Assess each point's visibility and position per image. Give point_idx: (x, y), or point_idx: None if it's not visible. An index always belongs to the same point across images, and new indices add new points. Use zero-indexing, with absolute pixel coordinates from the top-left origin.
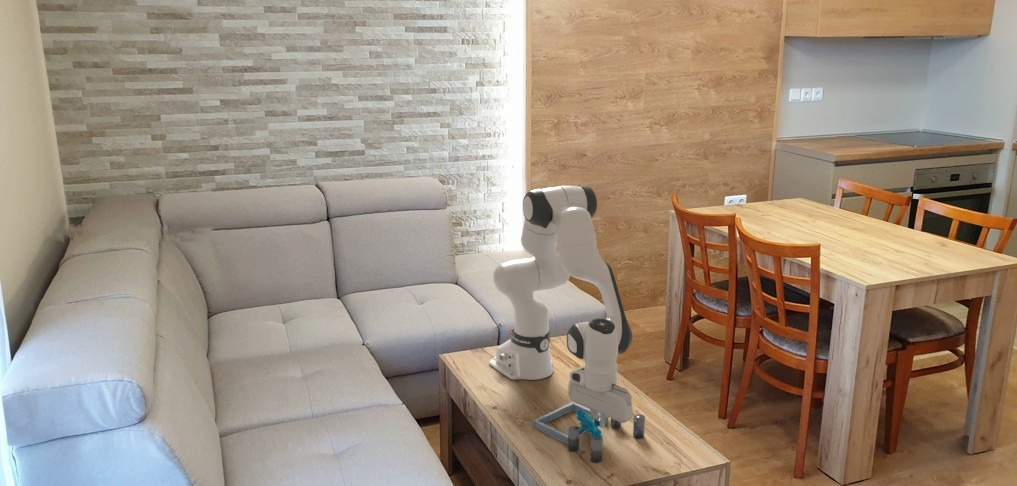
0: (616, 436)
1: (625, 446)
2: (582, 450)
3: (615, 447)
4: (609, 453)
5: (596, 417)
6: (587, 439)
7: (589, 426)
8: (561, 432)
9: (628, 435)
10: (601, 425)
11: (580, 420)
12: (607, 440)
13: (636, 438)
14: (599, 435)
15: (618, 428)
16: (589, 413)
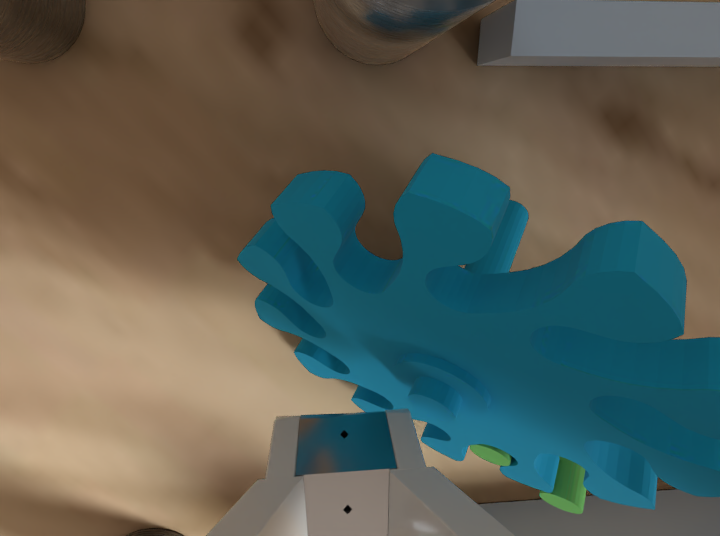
0: (262, 457)
1: (88, 406)
2: (283, 46)
3: (124, 337)
4: (62, 218)
5: (400, 514)
6: (398, 257)
7: (391, 320)
8: (662, 54)
9: (214, 521)
10: (272, 440)
11: (550, 271)
12: (263, 369)
13: (136, 532)
14: (318, 353)
15: None
16: (615, 525)
